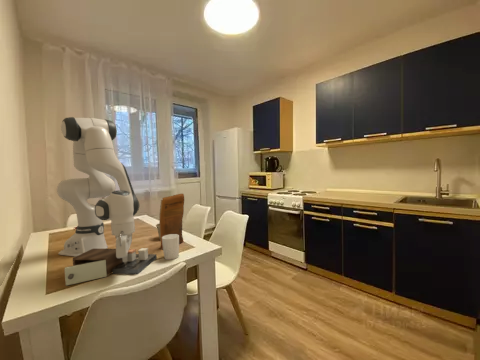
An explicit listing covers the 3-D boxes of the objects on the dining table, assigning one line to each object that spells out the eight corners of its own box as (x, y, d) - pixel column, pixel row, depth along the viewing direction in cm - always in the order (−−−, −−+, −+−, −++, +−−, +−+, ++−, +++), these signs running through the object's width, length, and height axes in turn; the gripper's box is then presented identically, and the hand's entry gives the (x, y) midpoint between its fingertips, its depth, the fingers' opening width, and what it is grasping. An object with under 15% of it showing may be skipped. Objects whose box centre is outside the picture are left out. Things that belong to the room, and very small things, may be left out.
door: (65, 287, 82) (63, 269, 82) (66, 284, 84) (65, 267, 84) (106, 277, 88) (105, 261, 88) (106, 275, 91) (105, 259, 90)
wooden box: (73, 274, 93) (72, 258, 92) (94, 263, 104) (93, 248, 103) (107, 275, 91) (106, 258, 91) (124, 263, 102) (123, 248, 102)
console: (112, 273, 92) (112, 268, 92) (134, 258, 108) (134, 253, 108) (137, 274, 91) (137, 269, 91) (156, 258, 107) (156, 254, 107)
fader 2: (138, 260, 100) (138, 250, 100) (142, 257, 103) (141, 248, 103) (145, 260, 100) (144, 250, 99) (148, 257, 103) (148, 248, 102)
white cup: (170, 261, 103) (169, 239, 102) (159, 258, 107) (158, 237, 106) (183, 255, 109) (182, 235, 109) (172, 252, 114) (171, 233, 113)
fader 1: (126, 261, 99) (125, 251, 99) (130, 258, 102) (129, 249, 102) (132, 261, 99) (131, 251, 98) (136, 258, 102) (135, 249, 101)
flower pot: (169, 240, 134) (168, 226, 134) (154, 240, 134) (153, 226, 134) (174, 235, 144) (173, 222, 143) (159, 236, 144) (159, 222, 143)
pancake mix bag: (190, 240, 132) (188, 193, 131) (164, 251, 116) (161, 197, 114) (182, 239, 136) (179, 192, 134) (155, 249, 119) (152, 196, 118)
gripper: (128, 234, 87) (131, 269, 88) (133, 222, 106) (135, 251, 107) (110, 236, 85) (112, 272, 86) (118, 224, 104) (120, 253, 105)
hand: (125, 260), depth 96 cm, fingers closed
